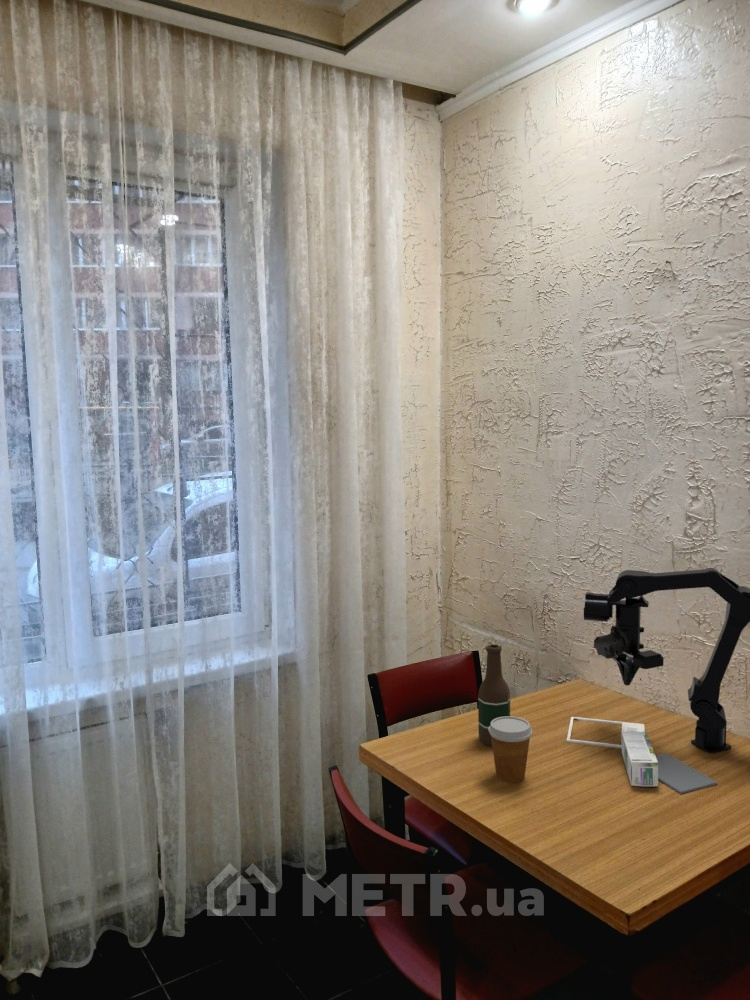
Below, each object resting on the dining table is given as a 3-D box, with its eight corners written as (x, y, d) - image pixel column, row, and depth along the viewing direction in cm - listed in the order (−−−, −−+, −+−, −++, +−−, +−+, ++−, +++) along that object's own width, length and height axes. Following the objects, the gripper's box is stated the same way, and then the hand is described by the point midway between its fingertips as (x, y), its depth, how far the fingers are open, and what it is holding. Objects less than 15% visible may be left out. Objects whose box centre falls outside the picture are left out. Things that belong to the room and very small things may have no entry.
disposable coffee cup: (484, 782, 164) (484, 730, 163) (493, 763, 173) (493, 713, 172) (528, 789, 161) (528, 735, 160) (535, 769, 170) (535, 718, 169)
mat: (666, 755, 175) (666, 753, 175) (717, 784, 161) (717, 782, 161) (631, 763, 171) (631, 761, 171) (680, 794, 158) (680, 791, 157)
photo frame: (645, 748, 178) (566, 739, 183) (645, 752, 178) (566, 743, 183) (644, 723, 191) (571, 716, 197) (644, 727, 191) (571, 720, 197)
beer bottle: (512, 747, 181) (512, 650, 178) (480, 747, 181) (479, 651, 178) (507, 733, 189) (507, 640, 186) (476, 734, 189) (475, 641, 186)
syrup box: (647, 754, 174) (660, 787, 160) (620, 754, 175) (631, 787, 161) (646, 730, 173) (659, 762, 159) (619, 731, 174) (630, 762, 160)
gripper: (576, 617, 188) (576, 677, 190) (627, 637, 171) (626, 703, 173) (612, 612, 192) (611, 671, 194) (665, 631, 175) (664, 695, 177)
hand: (626, 684), depth 185 cm, fingers closed
